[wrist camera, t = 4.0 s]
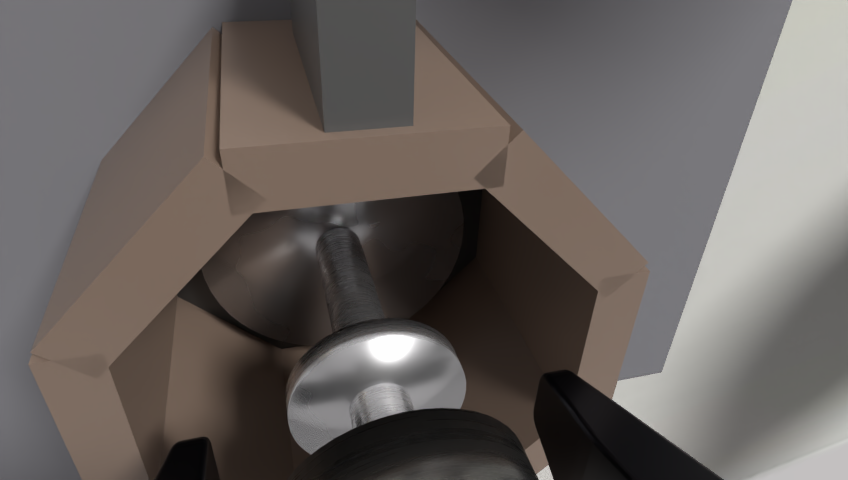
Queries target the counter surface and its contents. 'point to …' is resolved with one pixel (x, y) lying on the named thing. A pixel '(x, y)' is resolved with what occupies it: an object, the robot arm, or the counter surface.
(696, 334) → the counter surface
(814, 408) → the counter surface
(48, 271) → the mat
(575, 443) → the robot arm
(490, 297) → the brown octagonal ring
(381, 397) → the silver stemmed round piece
